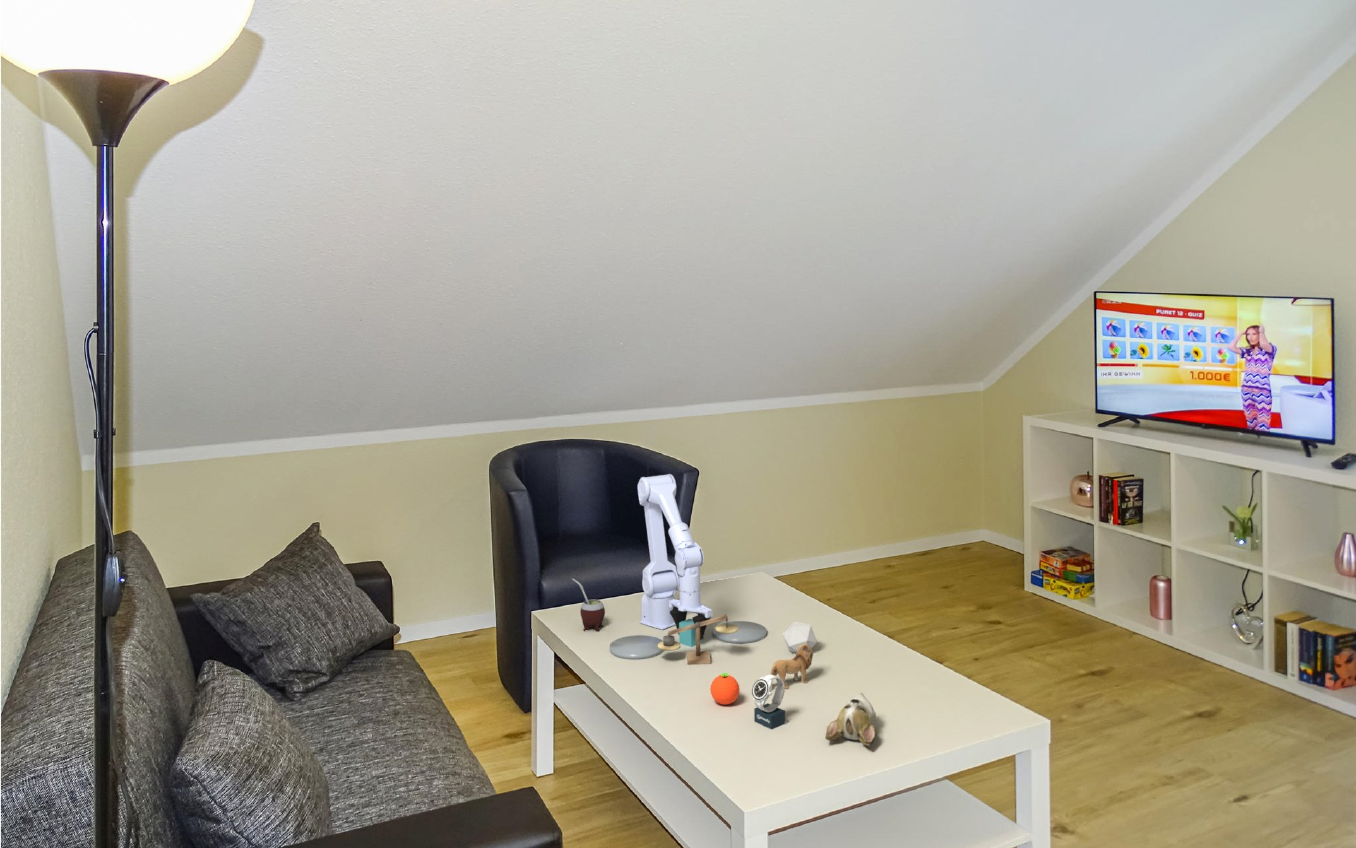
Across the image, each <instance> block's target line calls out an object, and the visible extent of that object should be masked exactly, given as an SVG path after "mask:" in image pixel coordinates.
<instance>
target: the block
mask: <svg viewBox="0 0 1356 848" xmlns="http://www.w3.org/2000/svg"><path fill="white" fill-rule="evenodd" d="M692 624H694V622H693V619H692V618H688V619H686V620H685V621H682V622H680V623H679V628H682V627H685V626H689V625H692ZM678 636H679V637H678V640H679V641H678V642H679V643H680V645H682V646H683V645H684V646H687V647H690V648H692V647H693V648H694V647H696V630H695V628H693V629H690V630H687V631H683V632H680V633H679V634H678ZM702 643H703V639H702V640H700V644H702Z"/></svg>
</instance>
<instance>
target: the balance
mask: <svg viewBox="0 0 1356 848" xmlns="http://www.w3.org/2000/svg"><path fill="white" fill-rule="evenodd" d="M724 620H725V623H726V624H722V623H719V624H720V625H719V624H717V625H716V626H715V627H716V631H717V632H719V633H723V634H731V633H735V632H737V631H738V626H736V625H734V624H728V622H729V621H728V616H727V614H724V615H720V616H717V617H713V618H710V619H709V620H706V621H702V622H696V623H695V624H692V625H689V626H685V627H682V628H678V629H677V628H676V629H672V630H668V632H667V634H666V635H664V636H663V637H662V639H663V640H662V642H660V643H658V648H659V649H660V650H664V651H663V652H665V651H666V652H668V651H669V652H671V651H676V650H679V649H680V648H681V644H680V643H679V641H677V640H676V638H675V634H678V633H680V632H683V631H687V630H690V629H693V628H696V645H695V650H694V651H686V661H687V665H709V664H711V656H710V650H701V643H700V626H704V625H707V626H708V625H710V624H714V623H716V622H721V621H724Z"/></svg>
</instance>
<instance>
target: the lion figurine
mask: <svg viewBox="0 0 1356 848" xmlns="http://www.w3.org/2000/svg"><path fill="white" fill-rule="evenodd" d="M813 654H814V653H813V647H812V648H811V647H810V645H808V644H801V645H800V646H799V647H798V651H797V653H795V656H794V657H793V658H790V659H779V660H776V661H775V662H774V663H773V665H772V667H771V671H770V674H771V675H774V676H778V677H779V678H781V679H782V680H783V682H784V689H785V690H788V689H789V686H788V685H786V684H785V679H786V677H787V674H788V675H793V680H794V681H795V682H796V681H799V680H800V678H799V675H798V674H799V672H800V675H801V683H803V684H808V681H807V679H806V676H807V670H809V668H810V667H811V666H812V661H813V656H814V655H813ZM773 687H774V684H773V683H772V686H771V688H773Z"/></svg>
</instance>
